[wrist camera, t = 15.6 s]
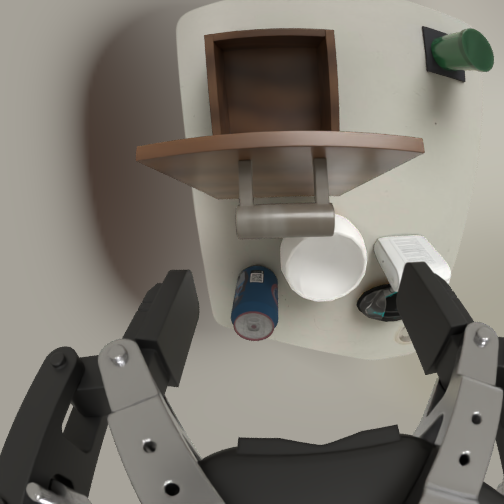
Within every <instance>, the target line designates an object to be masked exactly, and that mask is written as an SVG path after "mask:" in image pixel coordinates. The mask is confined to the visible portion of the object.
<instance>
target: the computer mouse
mask: <svg viewBox="0 0 504 504" xmlns="http://www.w3.org/2000/svg"><path fill="white" fill-rule="evenodd" d="M397 293H398V292H395V291H394V290H393V289H392V287H391V285H390V284H386V285H382V286H378V287H374V288H372V289H370V290H368V291H366V292H364V293H363V294H362V296H361V297H360V298H359V300H358V302H357V307H358V309H359V311H361V312H362V313H363V314H365V315H366V316H367V317H369V318H372V319H376V320H381V321H386V322H387V321H397V320H401V316H400V314H399V312H398V310H397V305H396V297H397Z"/></svg>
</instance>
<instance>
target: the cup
mask: <svg viewBox="0 0 504 504" xmlns="http://www.w3.org/2000/svg"><path fill="white" fill-rule="evenodd" d="M334 214H335V213H334ZM280 257H281V271H282V273H283V275H284V276H285V278H286V280H287V282H288V284H289V286H290V288H291V289H292V290H293V291H294V292H296V293H297V294H298V295H300V296H301V297H302V298H305V299H309V300H312V301H316V302H320V301H333V300H335V299H338V298H341V297H343V296H346V295H347V294H348V293H350V292H351V291H352V290H353V289H355V288H356V287H357V286H358V285H359V283H360V281H361V280H362V278H363V276H364V275H365V272H366V265H367V250H366V247H365V244H364V241H363V238H362V236H361V234H360V233H359V231H358V229H357V228H356V227H355V226H354V225H353V224H352V223H351V222H350V221H349V220H348V219H347V218H345V217H342V216H340V215H337V214H335V230H334V234H333V236H332V237H294V238H283V240H282V243H281V245H280Z"/></svg>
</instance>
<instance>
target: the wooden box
mask: <svg viewBox="0 0 504 504" xmlns="http://www.w3.org/2000/svg"><path fill="white" fill-rule="evenodd" d="M204 40H205V54H206V67H207V79H208V90H209V101H210V112H211V123H212V133H213V135H224V134H236V133H250V132H269V131H339V94H338V75H337V60H336V48H335V38H334V30H326V29H325V30H324V29H304V28H276V29H255V30H242V31H232V32H223V33H216V34H209V35H204Z"/></svg>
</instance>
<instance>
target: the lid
mask: <svg viewBox="0 0 504 504" xmlns="http://www.w3.org/2000/svg"><path fill="white" fill-rule="evenodd" d="M423 153H425V151H424V145H423V139H422V138H415V137H407V136H398V135H388V134H377V133H363V132H344V131H269V132H250V133H236V134H224V135H213V136H204V137H196V138H188V139H180V140H174V141H167V142H161V143H155V144H149V145H143V146H138V147H137V150H136V161H137V162H139V163H142V164H144V165H146V166H148V167H150V168H153V169H155V170H157V171H159V172H161V173H163V174H166V175H168V176H170V177H172V178H174V179H176V180H179V181H181V182H183V183H185V184H187V185H189V186H191V187H193V188H195V189H198V190H200V191H202V192H204V193H206V194H208V195H210V196H212V197H214V198H216V199H218V200H223V199H239V203H240V205H238V206H237V208H236V231H237V236H238V239H260V238H294V237H332V236H333V234H334V230H335V214H334V208H333V205H332V203H329V196H340V195H342V194H344V193H346V192H348V191H350V190H352V189H354V188H356V187H358V186H360V185H362V184H364V183H366V182H368V181H370V180H372V179H374V178H376V177H378V176H380V175H382V174H384V173H386V172H388V171H390V170H392V169H393V168H395V167H397V166H399V165H401V164H403V163H405V162H407V161H409V160H411V159H413V158H415V157H417V156H419V155H421V154H423ZM296 196H314V197H315V203H289V204H259V205H254V198H264V197H296Z"/></svg>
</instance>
